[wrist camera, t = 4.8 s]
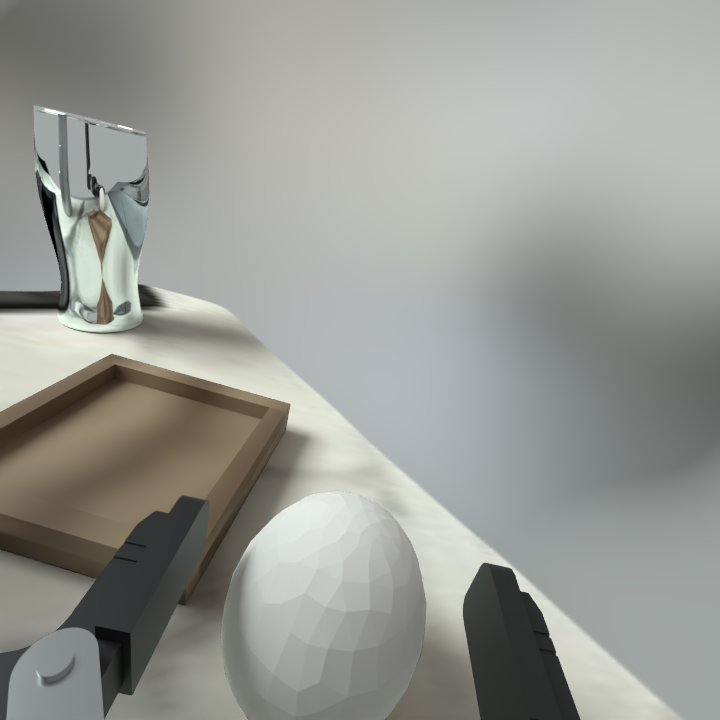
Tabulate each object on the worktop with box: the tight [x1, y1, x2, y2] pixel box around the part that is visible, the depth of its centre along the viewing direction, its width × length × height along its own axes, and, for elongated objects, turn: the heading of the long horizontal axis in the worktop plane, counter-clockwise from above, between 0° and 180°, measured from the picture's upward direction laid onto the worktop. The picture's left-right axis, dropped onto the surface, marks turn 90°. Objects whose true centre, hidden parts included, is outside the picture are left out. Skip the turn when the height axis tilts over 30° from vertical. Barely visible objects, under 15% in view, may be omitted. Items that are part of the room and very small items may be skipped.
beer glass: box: [33, 106, 149, 333], centre depth 31 cm, size 7×7×15 cm
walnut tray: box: [0, 354, 290, 605], centre depth 20 cm, size 12×12×2 cm
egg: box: [221, 491, 426, 720], centre depth 12 cm, size 6×6×8 cm
